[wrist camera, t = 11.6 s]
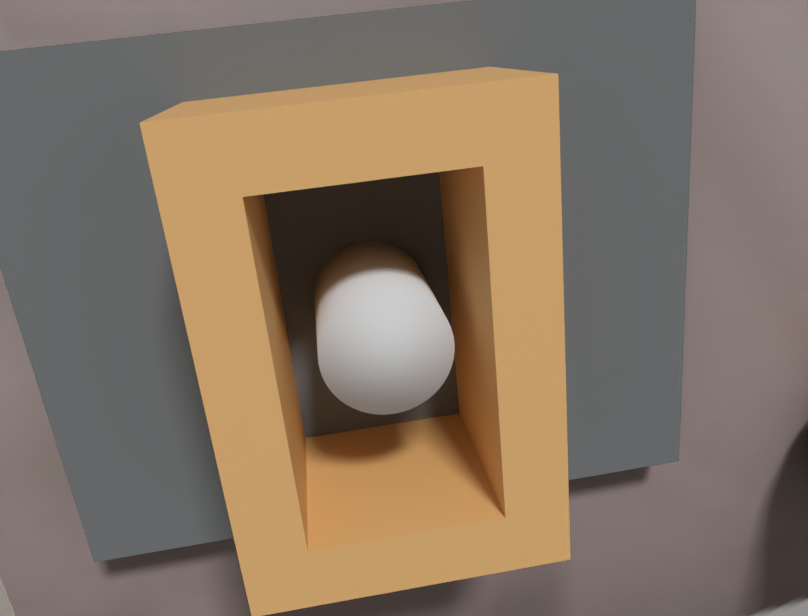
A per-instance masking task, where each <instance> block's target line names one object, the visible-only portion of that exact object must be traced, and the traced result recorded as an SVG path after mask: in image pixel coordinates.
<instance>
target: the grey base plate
mask: <svg viewBox="0 0 808 616" xmlns="http://www.w3.org/2000/svg"><path fill="white" fill-rule="evenodd" d="M695 18H696V0H471V1H462V2H453V3H444V4H434V5H425V6H416V7H407V8H397V9H388V10H379V11H370V12H360V13H351V14H342V15H332V16H323V17H314V18H305V19H295V20H286V21H277V22H268V23H258V24H249V25H240V26H231V27H221V28H212V29H203V30H194V31H184V32H175V33H166V34H157V35H147V36H138V37H129V38H119V39H110V40H101V41H92V42H82V43H73V44H64V45H55V46H45V47H36V48H27V49H18V50H8V51H0V268H1V271H2V274H3V277H4V280H5V283H6V287H7V290H8V293H9V296H10V299H11V302H12V305H13V309H14V312H15V315H16V318H17V321H18V324H19V327H20V330H21V334H22V337H23V340H24V343H25V346H26V349H27V352H28V356H29V359H30V362H31V365H32V368H33V371H34V374H35V378H36V381H37V384H38V387H39V390H40V393H41V396H42V400H43V403H44V406H45V409H46V412H47V415H48V418H49V422H50V425H51V428H52V431H53V434H54V437H55V440H56V443H57V447H58V450H59V453H60V456H61V459H62V462H63V465H64V469H65V472H66V475H67V478H68V481H69V484H70V487H71V491H72V494H73V497H74V500H75V503H76V506H77V509H78V513H79V516H80V519H81V522H82V525H83V528H84V531H85V534H86V538H87V541H88V544H89V547H90V550H91V553H92V556H93V560H94V562H99V561H105V560H111V559H117V558H122V557H128V556H134V555H140V554H146V553H151V552H157V551H163V550H169V549H174V548H180V547H186V546H192V545H198V544H203V543H209V542H215V541H221V540H226V539H232V538H234V537H233V532H232V528H231V523H230V519H229V515H228V510H227V506H226V501H225V497H224V493H223V488H222V484H221V479H220V475H219V471H218V466H217V462H216V458H215V453H214V449H213V444H212V440H211V436H210V431H209V427H208V422H207V418H206V414H205V409H204V405H203V400H202V396H201V392H200V387H199V383H198V378H197V374H196V370H195V365H194V361H193V356H192V352H191V348H190V343H189V339H188V334H187V330H186V326H185V321H184V317H183V312H182V308H181V304H180V299H179V295H178V290H177V286H176V282H175V277H174V273H173V269H172V264H171V260H170V255H169V251H168V247H167V242H166V238H165V233H164V229H163V225H162V220H161V216H160V211H159V207H158V203H157V198H156V194H155V189H154V185H153V181H152V176H151V172H150V167H149V163H148V159H147V154H146V150H145V145H144V141H143V137H142V132H141V128H140V122H142V121H144V120H146V119H148V118H150V117H153V116H155V115H157V114H159V113H161V112H163V111H165V110H167V109H169V108H171V107H174V106H176V105H178V104H180V103H182V102H188V101H196V100H205V99H214V98H223V97H231V96H240V95H249V94H257V93H266V92H275V91H283V90H292V89H301V88H309V87H318V86H327V85H336V84H344V83H353V82H362V81H370V80H379V79H388V78H396V77H405V76H414V75H422V74H431V73H440V72H449V71H457V70H466V69H475V68H483V67H498V68H508V69H517V70H527V71H536V72H546V73H556V74H558V80H559V121H560V161H561V201H562V242H563V282H564V322H565V363H566V403H567V444H568V480H573V479H579V478H584V477H590V476H596V475H602V474H607V473H613V472H619V471H625V470H631V469H636V468H642V467H648V466H654V465H659V464H665V463H671V462H677V461H679V447H680V420H681V393H682V366H683V339H684V313H685V286H686V259H687V232H688V205H689V179H690V152H691V125H692V98H693V71H694V44H695ZM264 200H265V205H266V211H267V217H268V223H269V229H270V234H271V240H272V246H273V252H274V257H275V263H276V269H277V275H278V280H279V286H280V292H281V298H282V303H283V309H284V315H285V321H286V326H287V332H288V338H289V344H290V349H291V355H292V361H293V367H294V373H295V378H296V384H297V390H298V396H299V401H300V407H301V413H302V419H303V424H304V430H305V436H306V438H309V437H315V436H322V435H328V434H334V433H340V432H347V431H353V430H359V429H365V428H372V427H378V426H384V425H390V424H396V423H403V422H409V421H415V420H421V419H428V418H434V417H440V416H446V415H453V414H459V401H458V389H457V378H456V366H455V354H454V352H455V343H454V336H453V330H452V319H451V307H450V295H449V283H448V272H447V260H446V248H445V236H444V224H443V213H442V201H441V189H440V177H439V172H434V173H426V174H419V175H411V176H403V177H395V178H387V179H380V180H372V181H364V182H356V183H348V184H341V185H333V186H325V187H317V188H309V189H302V190H294V191H286V192H278V193H270V194H264Z"/></svg>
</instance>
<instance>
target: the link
mask: <svg viewBox="0 0 808 616" xmlns="http://www.w3.org/2000/svg"><path fill="white" fill-rule="evenodd" d="M140 128H141V132H142V137H143V141H144V145H145V150H146V154H147V159H148V163H149V167H150V172H151V176H152V181H153V185H154V189H155V194H156V198H157V203H158V207H159V211H160V216H161V220H162V225H163V229H164V233H165V238H166V242H167V247H168V251H169V255H170V260H171V264H172V269H173V273H174V277H175V282H176V286H177V290H178V295H179V299H180V304H181V308H182V312H183V317H184V321H185V326H186V330H187V334H188V339H189V343H190V348H191V352H192V356H193V361H194V365H195V370H196V374H197V378H198V383H199V387H200V392H201V396H202V400H203V405H204V409H205V414H206V418H207V422H208V427H209V431H210V436H211V440H212V444H213V449H214V453H215V458H216V462H217V466H218V471H219V475H220V479H221V484H222V488H223V493H224V497H225V501H226V506H227V510H228V515H229V519H230V523H231V528H232V532H233V537H234V541H235V545H236V550H237V554H238V559H239V563H240V567H241V572H242V576H243V581H244V585H245V589H246V594H247V598H248V603H249V607H250V611H251V616H263V615H269V614H274V613H280V612H285V611H291V610H296V609H302V608H307V607H313V606H318V605H324V604H329V603H335V602H340V601H346V600H351V599H357V598H362V597H368V596H373V595H379V594H384V593H390V592H395V591H401V590H406V589H412V588H417V587H423V586H428V585H434V584H439V583H444V582H450V581H455V580H461V579H466V578H472V577H477V576H483V575H488V574H494V573H499V572H505V571H510V570H516V569H521V568H527V567H532V566H538V565H543V564H549V563H554V562H560V561H565V560H570V524H569V484H568V444H567V403H566V363H565V322H564V282H563V242H562V201H561V161H560V121H559V80H558V74H556V73H546V72H536V71H527V70H517V69H508V68H498V67H483V68H475V69H466V70H457V71H449V72H440V73H431V74H422V75H414V76H405V77H396V78H388V79H379V80H370V81H362V82H353V83H344V84H336V85H327V86H318V87H309V88H301V89H292V90H283V91H275V92H266V93H257V94H249V95H240V96H231V97H223V98H214V99H205V100H196V101H188V102H182V103H180V104H178V105H176V106H174V107H171V108H169V109H167V110H165V111H163V112H161V113H159V114H157V115H155V116H153V117H150V118H148V119H146V120H144V121H142V122H140ZM434 172H439V177H440V189H441V201H442V213H443V224H444V236H445V248H446V260H447V272H448V283H449V295H450V307H451V319H452V330H453V336H454V343H455V352H454V354H455V366H456V378H457V389H458V401H459V414H453V415H446V416H440V417H434V418H428V419H421V420H415V421H409V422H403V423H396V424H390V425H384V426H378V427H372V428H365V429H359V430H353V431H347V432H340V433H334V434H328V435H322V436H315V437H309V438H306V436H305V430H304V424H303V419H302V413H301V407H300V401H299V396H298V390H297V384H296V378H295V373H294V367H293V361H292V355H291V349H290V344H289V338H288V332H287V326H286V321H285V315H284V309H283V303H282V298H281V292H280V286H279V280H278V275H277V269H276V263H275V257H274V252H273V246H272V240H271V234H270V229H269V223H268V217H267V211H266V205H265V200H264V194H270V193H278V192H286V191H294V190H302V189H309V188H317V187H325V186H333V185H341V184H348V183H356V182H364V181H372V180H380V179H387V178H395V177H403V176H411V175H419V174H426V173H434Z"/></svg>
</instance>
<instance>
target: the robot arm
mask: <svg viewBox="0 0 808 616" xmlns="http://www.w3.org/2000/svg"><path fill="white" fill-rule="evenodd" d="M0 616H15V613H14V611H13V608H12V606H11V603H10V601H9V598H8V595H7V593H6V590H5V588H4V585H3V583H2V580H1V578H0Z"/></svg>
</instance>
